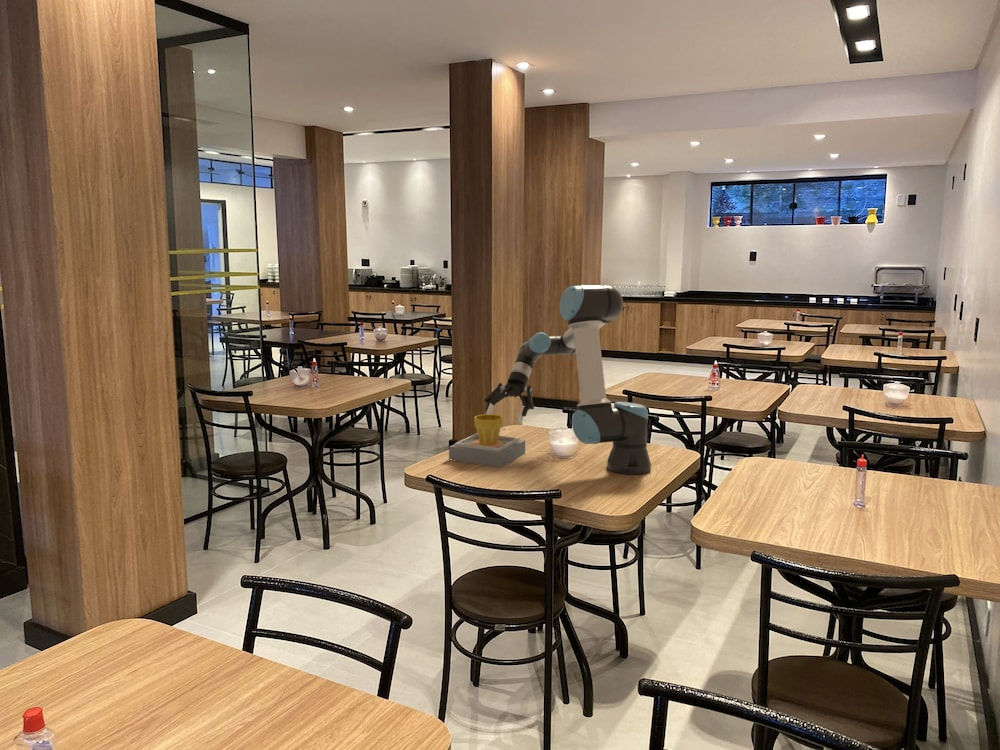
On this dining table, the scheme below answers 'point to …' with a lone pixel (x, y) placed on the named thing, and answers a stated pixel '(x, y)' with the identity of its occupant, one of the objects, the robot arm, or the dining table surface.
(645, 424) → the robot arm
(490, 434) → the plant pot
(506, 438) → the grey square tray
